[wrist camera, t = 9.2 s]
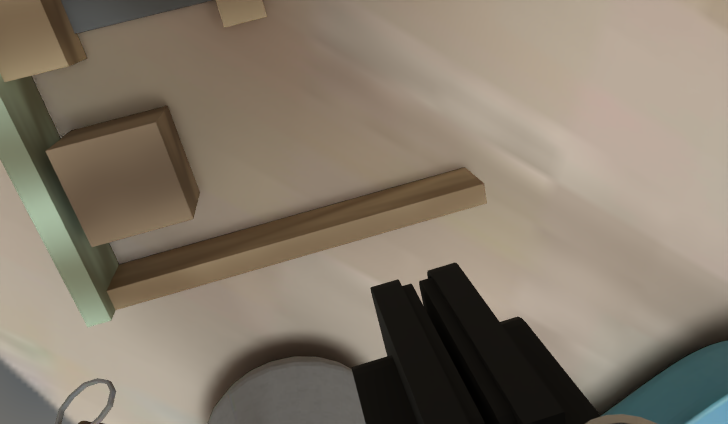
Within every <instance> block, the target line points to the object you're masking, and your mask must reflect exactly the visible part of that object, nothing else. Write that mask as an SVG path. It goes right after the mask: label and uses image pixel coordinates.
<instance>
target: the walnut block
mask: <svg viewBox="0 0 728 424" xmlns="http://www.w3.org/2000/svg"><path fill="white" fill-rule="evenodd" d="M46 154H47V156H48V158H49V160H50V162H51V164H52V166H53V168H54V170H55V172H56V174H57V176H58V178H59V180H60V183H61V185H62V187H63V189H64V191H65V193H66V195H67V197H68V199H69V201H70V203H71V205H72V207H73V210H74V212H75V214H76V216H77V218H78V220H79V222H80V224H81V226H82V228H83V230H84V232H85V234H86V236H87V239H88V241H89V243H90V245H91V247H95V246H98V245H102V244H105V243H109V242H113V241H116V240H120V239H123V238H127V237H131V236H134V235H138V234H141V233H145V232H149V231H152V230H156V229H159V228H163V227H167V226H170V225H174V224H177V223H181V222H185V221H188V220H192V219H193V218H194V214H195V210H196V206H197V202H198V198H199V194H200V192H199V189H198V186H197V184H196V181H195V178H194V176H193V173H192V170H191V167H190V165H189V162H188V159H187V157H186V154H185V151H184V149H183V146H182V143H181V141H180V138H179V135H178V133H177V130H176V127H175V125H174V122H173V119H172V117H171V114H170V111H169V109H168V106H164V107H160V108H156V109H153V110H149V111H145V112H141V113H137V114H133V115H129V116H126V117H122V118H118V119H114V120H110V121H106V122H102V123H99V124H95V125H91V126H87V127H83V128H79V129H75V130H71V131H70V132H69V133H67V134H66V135H65V136H64V137H62V138H61V139H60V140H59V141H57V142H56V143H55V144H54V145H52V146H51V147H50V148H49V149H47V150H46Z"/></svg>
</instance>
